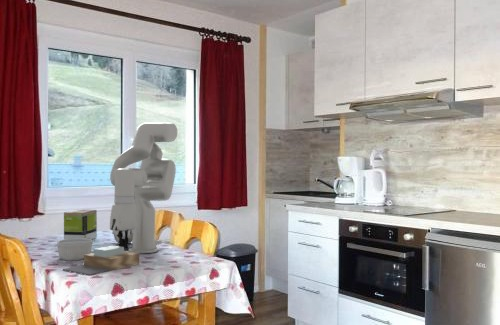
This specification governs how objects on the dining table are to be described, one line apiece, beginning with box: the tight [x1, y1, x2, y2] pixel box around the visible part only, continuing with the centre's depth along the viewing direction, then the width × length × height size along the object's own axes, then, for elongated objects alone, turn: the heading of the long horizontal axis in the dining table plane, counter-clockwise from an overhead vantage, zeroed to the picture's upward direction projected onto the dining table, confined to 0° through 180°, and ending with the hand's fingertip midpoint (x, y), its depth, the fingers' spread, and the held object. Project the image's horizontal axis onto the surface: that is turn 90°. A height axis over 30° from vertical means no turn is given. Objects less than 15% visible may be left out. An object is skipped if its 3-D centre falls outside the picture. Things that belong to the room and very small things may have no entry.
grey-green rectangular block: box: [93, 245, 125, 257], centre depth 168 cm, size 9×6×2 cm, turn 149°
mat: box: [62, 264, 112, 276], centre depth 159 cm, size 9×14×1 cm, turn 59°
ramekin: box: [56, 239, 94, 261], centre depth 181 cm, size 13×13×7 cm
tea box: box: [63, 209, 98, 240], centre depth 226 cm, size 15×10×15 cm
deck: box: [83, 250, 140, 271], centre depth 169 cm, size 14×14×4 cm
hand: (123, 248), depth 174 cm, fingers closed
